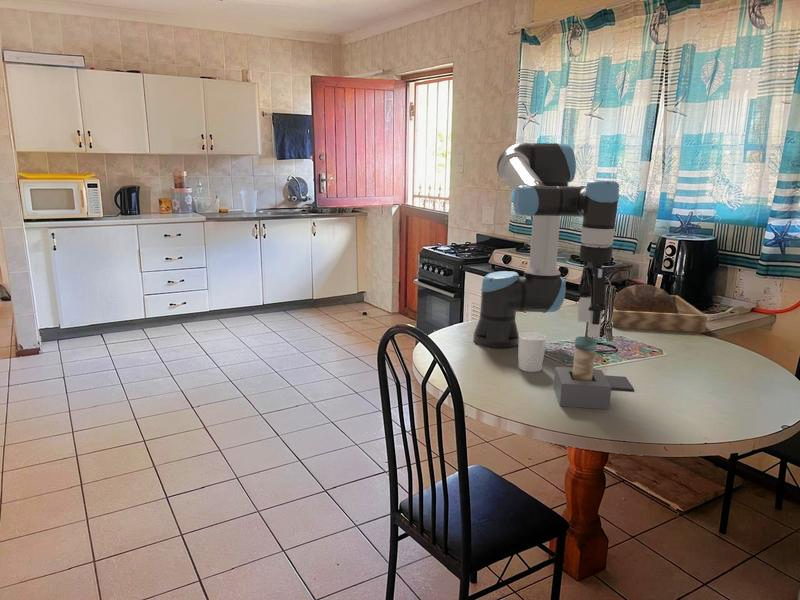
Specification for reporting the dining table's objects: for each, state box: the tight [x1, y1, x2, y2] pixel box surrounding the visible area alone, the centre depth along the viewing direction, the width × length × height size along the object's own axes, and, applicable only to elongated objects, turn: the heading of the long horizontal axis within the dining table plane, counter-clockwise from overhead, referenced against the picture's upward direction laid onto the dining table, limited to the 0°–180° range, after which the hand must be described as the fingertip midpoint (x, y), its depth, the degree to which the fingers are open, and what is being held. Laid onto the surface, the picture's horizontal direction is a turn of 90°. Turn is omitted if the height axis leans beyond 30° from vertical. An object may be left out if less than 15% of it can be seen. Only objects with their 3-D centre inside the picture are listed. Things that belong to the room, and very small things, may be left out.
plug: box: [572, 335, 598, 381], centre depth 152 cm, size 5×5×16 cm
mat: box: [604, 374, 635, 392], centre depth 164 cm, size 9×9×1 cm
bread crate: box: [602, 292, 708, 333], centre depth 231 cm, size 33×32×6 cm
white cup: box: [517, 331, 547, 373], centre depth 173 cm, size 8×8×10 cm
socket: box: [553, 366, 612, 410], centre depth 153 cm, size 12×12×6 cm
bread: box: [614, 284, 678, 314], centre depth 231 cm, size 26×27×13 cm
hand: (587, 328), depth 149 cm, fingers open, 13 cm apart
